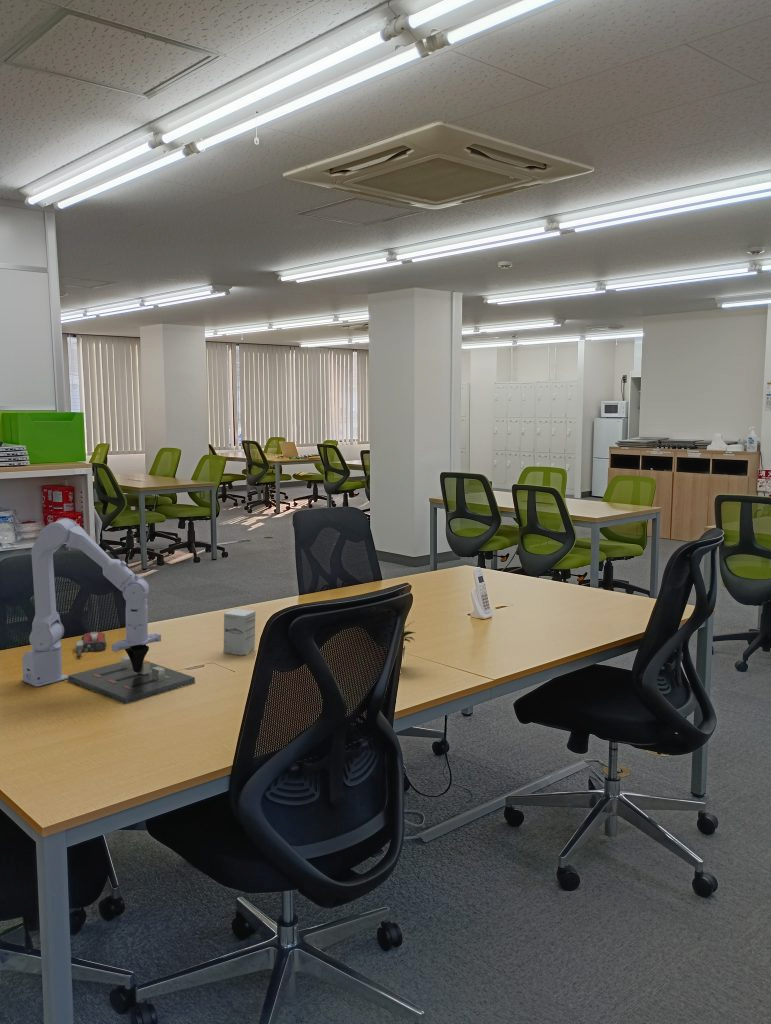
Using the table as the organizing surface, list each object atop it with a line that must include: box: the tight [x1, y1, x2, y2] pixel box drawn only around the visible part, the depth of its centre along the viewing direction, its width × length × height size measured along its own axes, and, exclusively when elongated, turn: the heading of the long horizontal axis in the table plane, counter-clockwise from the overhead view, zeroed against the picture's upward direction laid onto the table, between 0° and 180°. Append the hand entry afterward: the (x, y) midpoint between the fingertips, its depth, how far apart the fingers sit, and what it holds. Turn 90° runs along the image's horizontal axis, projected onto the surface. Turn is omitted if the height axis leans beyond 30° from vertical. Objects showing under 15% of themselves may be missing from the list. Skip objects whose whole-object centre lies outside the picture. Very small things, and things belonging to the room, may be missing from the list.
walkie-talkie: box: [75, 631, 107, 658], centre depth 254 cm, size 9×4×20 cm
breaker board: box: [67, 655, 196, 705], centre depth 225 cm, size 22×26×4 cm
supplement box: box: [223, 608, 257, 656], centre depth 256 cm, size 7×7×13 cm
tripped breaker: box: [140, 659, 150, 675], centre depth 228 cm, size 2×3×3 cm, turn 52°
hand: (137, 671), depth 227 cm, fingers closed
